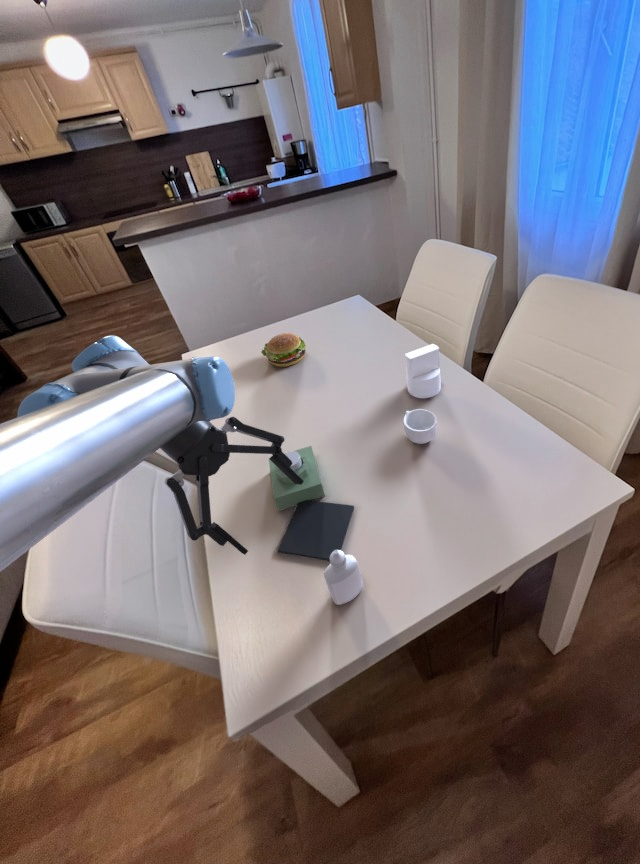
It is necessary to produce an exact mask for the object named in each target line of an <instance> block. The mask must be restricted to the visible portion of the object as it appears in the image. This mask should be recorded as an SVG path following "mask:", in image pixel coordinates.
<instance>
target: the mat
mask: <svg viewBox="0 0 640 864" xmlns="http://www.w3.org/2000/svg"><path fill="white" fill-rule="evenodd" d="M354 508H355V505H350V504H344V503H343V504H341V503H334V502H328V501H327V502H326V501H320V500H319V501H318V500H305V501H302V502H299V503H298V504H297V505H295V508H294V510H293V513H292V515H291V517H290V519H289V522H288V523H287V527H286V529H285V531H284V533H283V536H282V538H281V540H280V543H279V545H278V547H277V549H276V552H277V553H280V554H287V555H293V556H297V557H304V558H309V559H310V558H311V559H316V560H323V561H329V562H330V555H331V553H332V552H333V551H334V550H341V551H342V548H343V545H344V541H345V539H346V535H347V532H348V528H349V525H350V522H351V519H352V515H353V512H354Z"/></svg>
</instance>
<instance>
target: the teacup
mask: <svg viewBox="0 0 640 864" xmlns="http://www.w3.org/2000/svg"><path fill="white" fill-rule="evenodd" d="M402 423H403V430H404V434H405V436H406V437H407V439H408V440H409V441H411V442H412V443H415V444H417V445H422V444H424V445H425V444H427V443H429V442H431V441H432V440H433V439H434V438H435V436H436V433H437V428H438V419H437V416H436V415H435V414H434V413H433V412H432V411H430V410H428V409H423V408H417V409H413V410H406V411H405V415H404V417H403V422H402Z"/></svg>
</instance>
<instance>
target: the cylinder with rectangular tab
mask: <svg viewBox="0 0 640 864" xmlns="http://www.w3.org/2000/svg"><path fill="white" fill-rule="evenodd" d="M404 358H405V359H404V360H405V370H406V371H405V372H406V373H405V374H406V385H407V386H406V387H407V391H408V394H409V395H411V396H412V397H414V398H418V399H428V398H433V397H434V396H436V395H438V394H439V393H440V391H441V389H442V388H441V387H442V386H441V368H440V367H441V365H440V362H441V361H440V347H439V346H438V345H436V344H435V343H430V344H428V345H426V346H423V347H420V348H417V349H414V350H412V351H409V352H406V353H404Z"/></svg>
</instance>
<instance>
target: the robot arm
mask: <svg viewBox="0 0 640 864" xmlns="http://www.w3.org/2000/svg"><path fill="white" fill-rule="evenodd" d="M71 369H72V371H73V372H72V373H70V374H68V375H64V376H63V377H61V378H59V379H57V380H54V381H53V382H47V383H45V384H44V385H42V386H41V387H40V388H38V389H37V390H35V391H33V392H31V393H30V394H28V395H27V396H25V398H24V399H23V400H21V402H20V404H19V406H18V409H17V417H15V418H13V419H10V420H7V421H4V422H1V423H0V573H1V572H2V571H3V570H5V569H6V568H8V567H9V566H10V565H12V564H13V563H14V562H15V561H16V560H18V559H19V558H20V557H22V556H23V555H24V554H26V553H27V552H28V551H29V550H30V549H32V548H33V547H34V546H36V545H38V543H40V542H41V541H42V540H44V539H45V538H46V537H47V536H48V535H50V534H51V533H52V532H54V531H55V530H57V529H58V528H59V527H60V526H62V525H63V524H64V523H65V522H66V521H68V520H69V519H70V518H72V517H73V516H75V514H77V513H78V512H80V511H81V510H82V509H84V508H85V507H86V506H87V505H89V504H90V503H91V502H92V501H94V500H95V499H96V498H97V497H99V496H100V495H101V494H103V493H104V492H105V491H106V490H108V489H110V487H112V486H113V485H114V484H115V483H117V482H118V481H119V480H120V479H122V478H123V477H125V476H126V475H127V474H129V473H130V472H131V471H132V470H134V469H135V468H136V467H138V466H139V465H140V464H142V462H144V461H145V460H147V459H148V458H150V457H151V456H152V455H153V454H154V453H156V452H157V451H158V450H159V449H160V450H161V451H162V452H164V453H165V454H166V455H167V456H168V457H169V458H170V459H172V461H174V462H175V463H176V464H177V466H178V468H179V469H178V470H177V471H176V472H175V473H173V474H172V475H171V476H169V477H166V478H165V480H164V484H165V485H166V487H167V488H168V489H169V490H170V491H171V492H172V494H173V496H174V499H175V503H176V505H177V508H178V511H179V514H180V517H181V520H182V522H183V525H184V528H185V531H186V533H187V537H188V538H190V539H191V541H193V542H194V541H195V542H196V541H197V540H199V539H200V538H201V537H202V536H208V537H209V538H210V539H212V540H213V541H214V542H215V543H216V544H218V545H219V546H221V547H224V546H225V545H226V544H227V543H229V544H230V545H232V546H233V547H234V548H235V549H236V550H237V551H239V552H240V553H241V554H243V555H244V556H246V555H247V553H248V552H249V549H247V548H246V547H244V546H243V544H241V543H240V542H239V541H238V540H237V539H235V538H234V537H233V536H232V535H231V534H229V532H228V531H226V530H225V529H224V528H223V527H221V525H220V524H218V523H217V522H214V521H213V522H212V513H211V511H212V510H211V499H210V487H209V485H210V478H209V477H211V476H214V475H216V474H217V473H218V472H219V470H220V469H221V467H222V466H223V465H225V464H226V463H227V462H228V461H229V460H230V459H229V458H230V455H231V454H255V455H256V454H259V455H271V456H270V457H269V458H270V460H271V461H272V462H273V463H274V464H275V465H276V466H277V467H278V468H279V469H280V470H281V471H282V472H283V473H284V474H285V475H286V476H287V477H288V478H289V479H290V480H291V481H292V482H294V483H295V484H299V485H301V484H302V483H303V482H304V481H303V480H302V479H301V478H300V477H299V476H298V475H297V474H296V473H295V472H294V471H293V470H292V469H291V468H290V466H291V465H292V464H293V463H292V461H291V460H290V459H289V458H288V457H287V456H286V455H285V453H284V452H283V448H282V445H283V443H284V442H285V437H284V436H282V435H280V434H276V433H274V432H270V431H267V430H264V429H261V428H258V427H256V426H252V425H248V424H245V423H243V422H242V421H240V419H238V418H237V417H235V416H230V417H228V416H229V415H230V414H231V412H232V411H233V408H234V405H235V399H236V387H235V383H234V378H233V374H232V372H231V370H230V367H229V365H228V364H227V362H225V360H224V359H222V358H221V357H218V356H216V355H215V356H214V355H213V356H212V355H211V356H201V357H197V356H193V357H191V358H187V359H179V360H174V361H173V360H172V361H167V362H160V363H152V364H150V363H148V362H147V361H146V360H145V359H144V357H142V356H141V354H140V352H138V351H137V350H136V349H134V348H133V347H132V346H131V345H129V343H127V342H125V341H124V340H123V339H122V338H121V337H120V336H117V335H106V336H104V337H102V338H100V339H99V340H97V341H96V342H93V343H92V344H90V345H89V346H88V347H86V348H85V349H84V350H82V351H81V352H80V353H79V354H78V355H77V356H76V357H75V358H74V359H73V360H72V362H71ZM226 417H227V418H226ZM223 418H226V419H225V421H224V423H223V425H222V426H221V428H218V427H216V426H215V425H214V424H213V423H212V422H211V421H213V420H218V419H223ZM236 432H237V433H239V434H243V435H246V436H249V437H253V438H255V439H259V440H262V441H266V442H268V443H271V445H268V446H267V445H250V444H249V445H248V444H246V445H245V444H229V441H228V435H227V433H236ZM185 475H186V476H195V484H196V489H197V490H196V491H197V503H198V504H197V505H198V517H199V525H198V526H197V523H196V521H195V518H194V515H193V512H192V509H191V506H190V504H189V501H188V497H187V495H186V492H185V489H184V488H183V486H184V485H185V481H184V476H185Z"/></svg>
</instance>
